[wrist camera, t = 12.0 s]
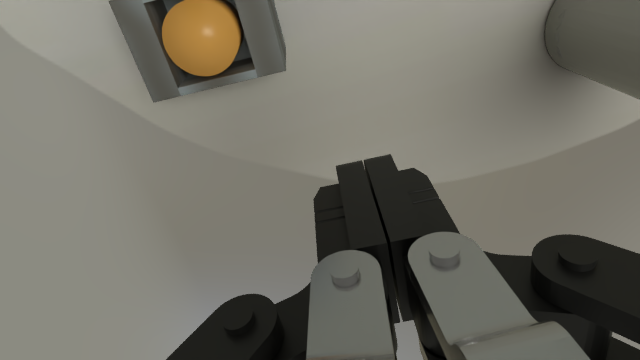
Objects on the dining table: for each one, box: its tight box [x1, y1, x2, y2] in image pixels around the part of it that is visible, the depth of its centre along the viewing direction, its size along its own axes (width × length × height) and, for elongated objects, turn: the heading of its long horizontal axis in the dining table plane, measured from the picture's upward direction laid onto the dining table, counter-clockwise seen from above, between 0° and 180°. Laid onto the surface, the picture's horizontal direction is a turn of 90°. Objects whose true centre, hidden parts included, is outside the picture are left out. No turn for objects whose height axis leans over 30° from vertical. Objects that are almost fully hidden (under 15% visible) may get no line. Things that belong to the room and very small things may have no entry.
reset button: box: [162, 0, 244, 76], centre depth 29 cm, size 5×5×4 cm
